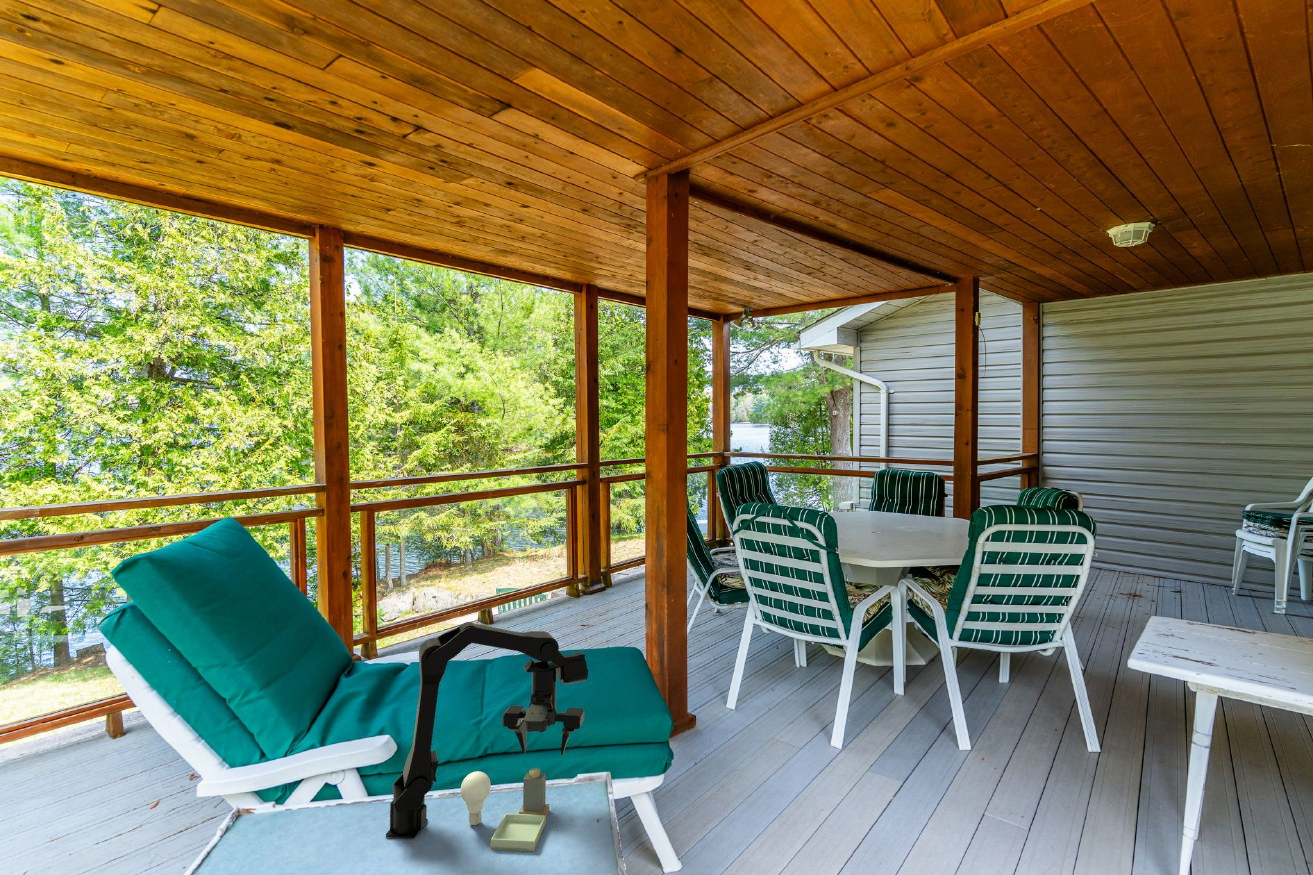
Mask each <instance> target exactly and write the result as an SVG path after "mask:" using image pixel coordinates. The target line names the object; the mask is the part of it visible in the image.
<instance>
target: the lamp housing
mask: <svg viewBox="0 0 1313 875" xmlns="http://www.w3.org/2000/svg"><path fill="white" fill-rule="evenodd" d="M546 775H547V773H541V769H540V768H538V767H534V768H530V770H529V772H526V774H525V775H524V777H523V788H522V789H523V792H522V793H523V794H522V795H523V796H522V802H523V803H522V805H521V806H520V807H521V808H520V809H519V811H518V814H529V815H546V818H547V817H548V815H549V813H550V803H546V798H547V797H546V794H547V793H546V788H547V787H546V784H547V783H546V782H547V781H546V780H547V778H546V777H547V776H546Z"/></svg>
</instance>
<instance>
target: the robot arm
mask: <svg viewBox="0 0 1313 875" xmlns="http://www.w3.org/2000/svg"><path fill="white" fill-rule="evenodd" d="M471 644H474V645H475V644H476V645H482V646H488V647H493V648H498V649H504V650H509V651H515V652H518V653H522V654H523V655H526V656H528V657H530V659H529V660H528V662H526V663H525V664H524V665H523V669H524V671H525V672H526V673H528V674H529V673H531V695H530V701H529V702H530V703H529V705H528V707H527V710H526V707H525V705H510V706H509V707H508V708H507V709H506V711H505V712H504V713H503V714H502V719H501V722H502V723H501V725H502V727H505V728H506V727H507V729H508V730H509V731H512V732H514V734H515V736H516V737H517V741H518V743H519V745H520V748H521V752H522V753H523V754H526V752H527V747H528V746H527V744H528V742H527V732H528V733H532V732H536V733H537V732H538V733H545V732H546V731H547V729H548V727H550V726H554V725H555V724H556V722H559V723H560V722H561V723H562V726H563V727H562V729H561V733H562V734H561V735H562V736H561V744H560V755H561V756H562V755H564V753H565V749H566V746H567V743H568V741H569V739H570V734H571V733H574V732H576V730H579V729H581V727H582V725H583V722H584V721H585V710H584V709H583V707H568V708H567V709H566V711H565V712H557V690H558V689H557V688H558V687H557V680H558V681H559V682H560V681H561V684H562V685H568V684H576V683H581V682H586V681H587V680H588V678H589V669H588V665H587V661H586V655H585V653H584V652H582V651H579V652H576V653H572V654H571V653H570V654H565V655H564V654H563V653H562V652H561V651H560V647H559V646H560V645H559V643H558V641H557V640H556V638H554V637H553V636H552V634H550V633H549V632H548V631H541V630H539V631H538V630H537V631H536V630H535V631H532V630H531V631H525V632H524V631H523V632H521V631H515V630H509V629H503V628H500V627H499V628H498V627H492V626H487V625H482V624H478V623H474V622H472V621H466V622H464V623H462V624H460V625H459V626H457V627H455V628H452V629H450V630H448V631H446V632H444V633H442V634H441V635H439V636H437V637H432V638H428V639H426V640H424V641H423V643H421V644H420V646H419V647H418V648H419V649H418V661H419V662H418V664H419V677H420V678H419V679H420V684H419V686H420V687H419V693H418V694H419V695H418V702H417V708H416V714H415V715H416V716H415V725H414V733H413V740H412V745H411V748H410V751H409V753H408V755H407V758H406V761H405V764H404V768H403V771H402V773H401V775H399V777H398V778H397V779H396V780H395V781H394V782H393V784H392V796H393V799H392V801H390V803H389V830H388V831H387V832H386V833H385V838H395V839H397V838H398V839H415V838H416V837H417V836H418V835H419V833H420V832H421V831H422V830H423V828H424V827H425V826H426V824H427V823H428V822H429V820H428V818H427V808H428V806H427V804H425V799H426V798H425V795H427V794H428V793H429V792H430V791H431V789H432V788H433V784H434V782H435V783H436V782H437V777H436V775H437V774H436V773H437V769H438V767H439V758H438V754H437V750H435V749H434V750H432V744H433V743H432V742H433V735H434V728H435V719H436V712H437V704H438V695H439V689H440V688H439V687H440V685H441V682H442V679H443V677H444V675H445V671H446V668H447V665H448V662H449V661H451V660H453V659H454V658H456V657H457V656H458V655H459V654H460V653H461V652H462V651H463V650H465V649H466V648H467V647H468V646H469V645H471ZM533 659H535V660H536V661H535V660H533Z"/></svg>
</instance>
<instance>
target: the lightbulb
mask: <svg viewBox="0 0 1313 875" xmlns="http://www.w3.org/2000/svg"><path fill="white" fill-rule="evenodd" d="M491 786H492V785H491V780H490V778H489V776H488V774H486V773H485V772H483V771H480V770H477V771H473V772H470V773H469V774H467V775H466V777H464V779H463V780H462V781H461V786H460V796H461V798H462V800H463V802H465V805H466V807H467V811H468V824H469V825H471V826H477V825H479V824H480V823H481V822H482V821H483V820H482V818H483V817H482V816H483V815H482V813H483V812H482V811H483V808H484V803H485V801H486V800H487V798H488V796H489V795H490V791H491Z"/></svg>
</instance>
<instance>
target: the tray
mask: <svg viewBox="0 0 1313 875" xmlns="http://www.w3.org/2000/svg"><path fill="white" fill-rule="evenodd" d="M546 825H547V817H546V815H529V814H519V813H505V814H504V816H503V817H502V818H501V820H500V823H499V824H498V826H497V828H496V830H495V831H494V833H493V835H492V837H491V839H490V850H497V851H498V850H499V851H518V852H535V851H536V848H537V846H538V843H539V841H540V839H541V836H542V835H543V831H544V830H545V828H546Z"/></svg>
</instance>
